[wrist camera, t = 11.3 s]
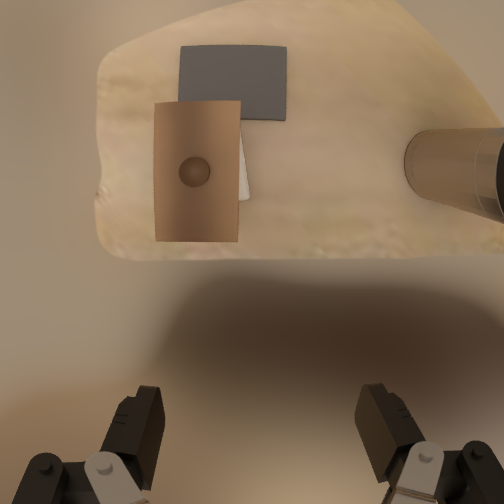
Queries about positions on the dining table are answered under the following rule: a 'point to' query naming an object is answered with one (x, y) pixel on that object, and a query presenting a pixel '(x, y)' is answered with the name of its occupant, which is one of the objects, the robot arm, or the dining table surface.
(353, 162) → the dining table surface
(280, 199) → the dining table surface
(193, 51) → the mat
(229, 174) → the lid
